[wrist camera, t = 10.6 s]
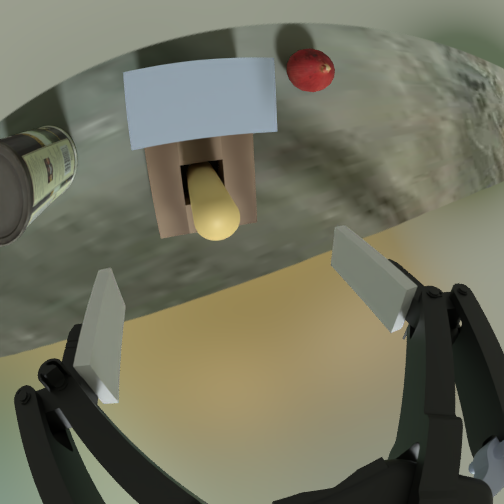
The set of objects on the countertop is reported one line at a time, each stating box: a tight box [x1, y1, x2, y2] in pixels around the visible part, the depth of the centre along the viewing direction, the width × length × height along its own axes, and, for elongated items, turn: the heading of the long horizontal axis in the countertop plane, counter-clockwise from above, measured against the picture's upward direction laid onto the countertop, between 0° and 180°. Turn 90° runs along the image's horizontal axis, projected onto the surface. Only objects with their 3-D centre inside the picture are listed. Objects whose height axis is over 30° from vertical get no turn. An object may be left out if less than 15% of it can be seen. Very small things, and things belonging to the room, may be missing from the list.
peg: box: [186, 161, 240, 241], centre depth 28 cm, size 4×4×16 cm
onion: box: [287, 49, 335, 92], centre depth 27 cm, size 6×6×8 cm
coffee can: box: [0, 126, 77, 246], centre depth 21 cm, size 10×10×14 cm
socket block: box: [145, 133, 257, 238], centre depth 32 cm, size 12×12×5 cm
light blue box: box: [123, 58, 277, 150], centre depth 24 cm, size 12×7×13 cm, turn 93°
